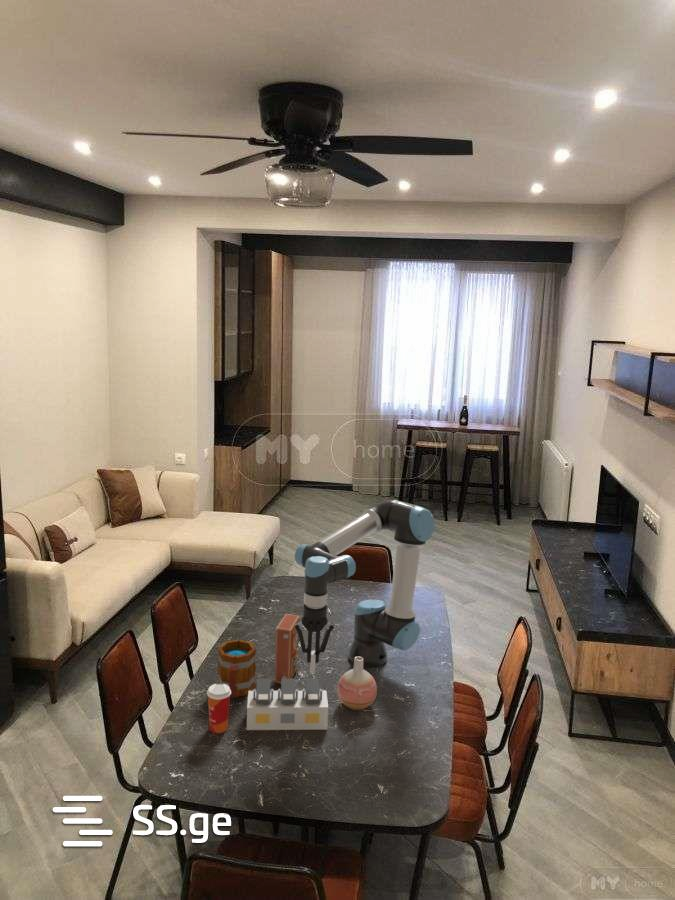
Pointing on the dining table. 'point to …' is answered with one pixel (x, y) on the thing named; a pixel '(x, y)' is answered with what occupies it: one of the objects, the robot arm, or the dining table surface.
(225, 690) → the paper cup
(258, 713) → the console
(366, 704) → the vase
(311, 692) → the rocker
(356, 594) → the dining table surface
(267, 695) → the rocker
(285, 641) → the control panel
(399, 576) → the robot arm
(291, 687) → the rocker
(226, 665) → the mug
